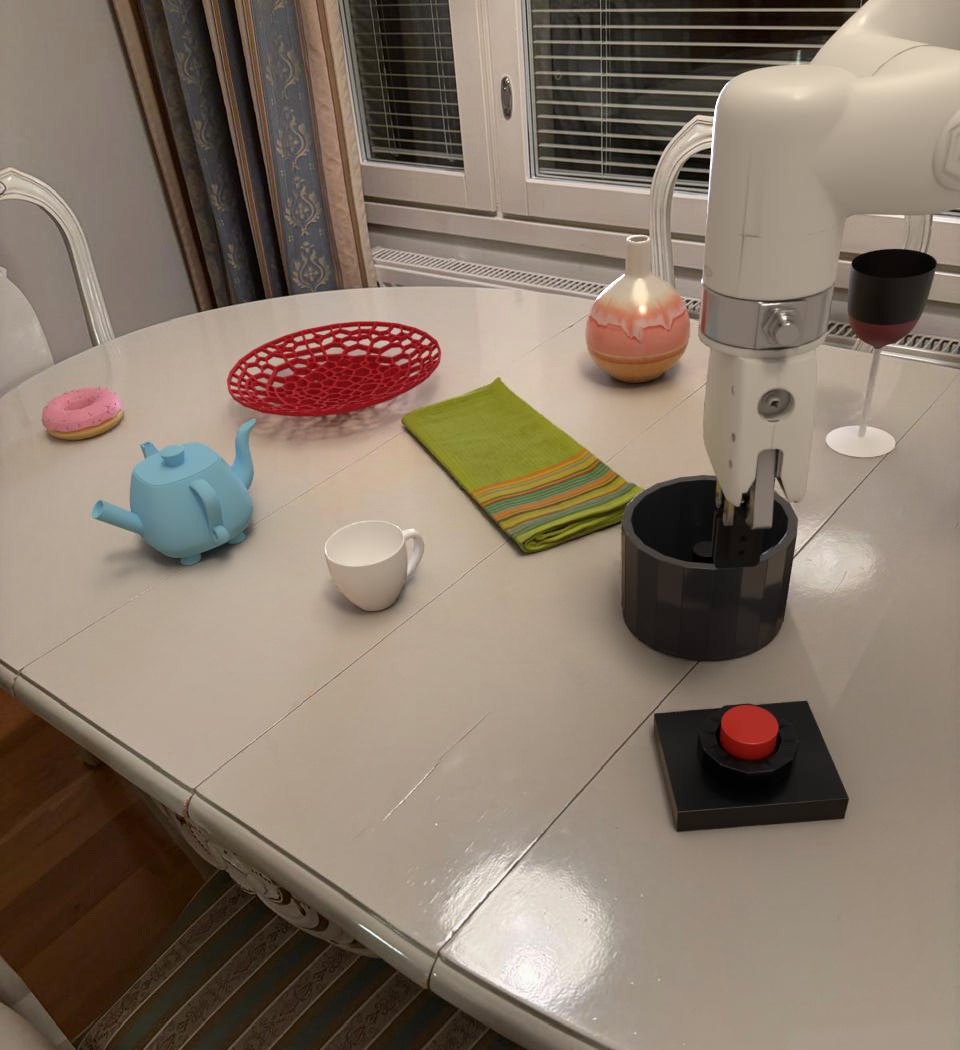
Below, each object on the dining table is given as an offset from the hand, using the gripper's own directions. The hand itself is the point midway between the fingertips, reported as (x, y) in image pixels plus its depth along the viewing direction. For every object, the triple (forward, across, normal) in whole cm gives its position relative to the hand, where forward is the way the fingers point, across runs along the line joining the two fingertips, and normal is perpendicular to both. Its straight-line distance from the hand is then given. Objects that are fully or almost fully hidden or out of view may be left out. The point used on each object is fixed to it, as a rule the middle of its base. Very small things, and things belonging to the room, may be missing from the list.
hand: (734, 560), depth 66 cm
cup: (+15, +19, +29) cm, 38 cm away
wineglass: (+14, +41, -25) cm, 50 cm away
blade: (+14, +12, -1) cm, 18 cm away
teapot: (+15, +32, +51) cm, 63 cm away
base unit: (+14, -8, 0) cm, 16 cm away
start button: (+11, -8, 0) cm, 13 cm away
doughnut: (+15, +64, +75) cm, 100 cm away
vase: (+14, +64, -2) cm, 66 cm away
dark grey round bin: (+14, +12, -1) cm, 19 cm away
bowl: (+15, +66, +39) cm, 78 cm away
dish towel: (+14, +42, +16) cm, 47 cm away
